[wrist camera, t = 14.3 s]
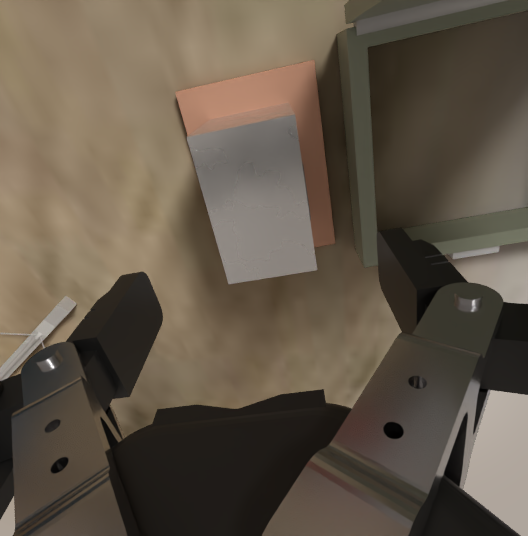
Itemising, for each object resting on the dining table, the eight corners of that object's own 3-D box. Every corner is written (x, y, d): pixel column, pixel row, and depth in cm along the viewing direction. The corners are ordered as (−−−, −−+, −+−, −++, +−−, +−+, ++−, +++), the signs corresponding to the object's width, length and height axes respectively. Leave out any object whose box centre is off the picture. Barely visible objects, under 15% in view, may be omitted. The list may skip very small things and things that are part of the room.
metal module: (290, 102, 22) (297, 113, 16) (307, 222, 25) (319, 269, 19) (208, 119, 22) (184, 137, 16) (237, 234, 26) (226, 284, 20)
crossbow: (50, 411, 39) (39, 428, 37) (-66, 346, 34) (-85, 362, 33) (133, 340, 32) (124, 356, 30) (2, 249, 28) (-17, 262, 26)
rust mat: (313, 60, 21) (314, 59, 21) (334, 240, 27) (335, 243, 26) (177, 91, 22) (175, 91, 22) (225, 259, 28) (224, 262, 27)
